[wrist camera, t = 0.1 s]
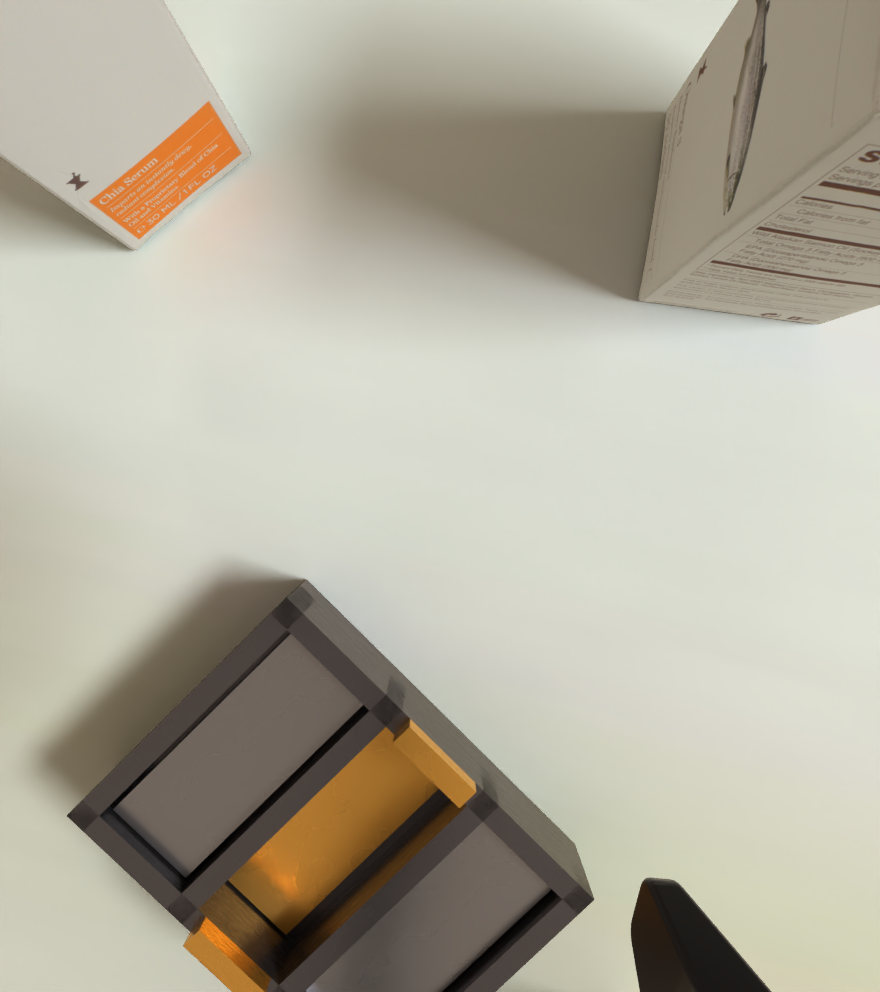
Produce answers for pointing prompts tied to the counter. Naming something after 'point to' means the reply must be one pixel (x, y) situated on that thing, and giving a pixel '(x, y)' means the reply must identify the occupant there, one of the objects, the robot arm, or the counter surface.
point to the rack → (333, 825)
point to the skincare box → (111, 111)
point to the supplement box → (774, 167)
